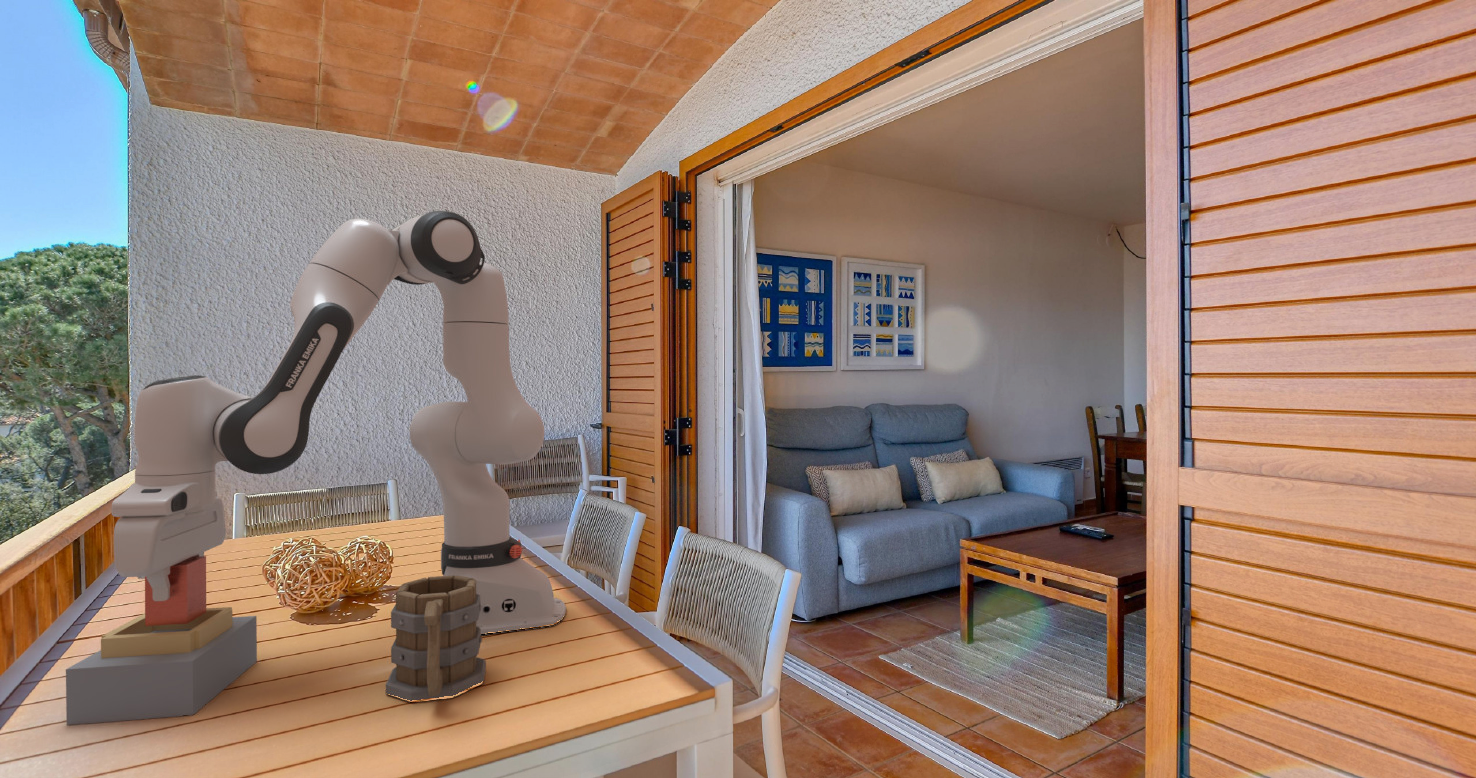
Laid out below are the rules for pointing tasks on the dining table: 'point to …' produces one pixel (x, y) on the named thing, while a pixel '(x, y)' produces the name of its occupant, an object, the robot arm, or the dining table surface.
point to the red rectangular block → (179, 595)
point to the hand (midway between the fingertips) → (176, 592)
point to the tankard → (436, 638)
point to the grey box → (160, 668)
